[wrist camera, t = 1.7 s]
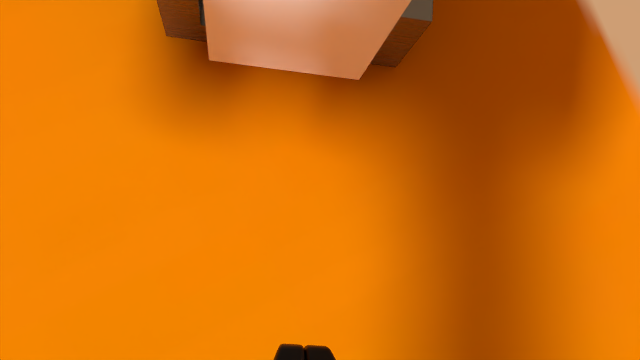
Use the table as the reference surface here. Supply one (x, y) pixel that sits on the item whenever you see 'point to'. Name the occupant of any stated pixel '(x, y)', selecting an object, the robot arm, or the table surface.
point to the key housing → (189, 22)
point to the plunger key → (301, 33)
